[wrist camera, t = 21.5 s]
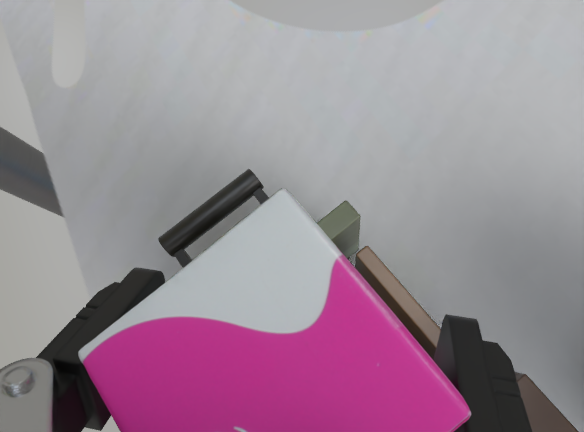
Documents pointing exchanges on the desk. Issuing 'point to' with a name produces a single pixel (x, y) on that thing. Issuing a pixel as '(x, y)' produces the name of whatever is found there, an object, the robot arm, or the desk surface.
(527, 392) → the cabinet
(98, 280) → the desk surface
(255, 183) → the drawer
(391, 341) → the supplement box
